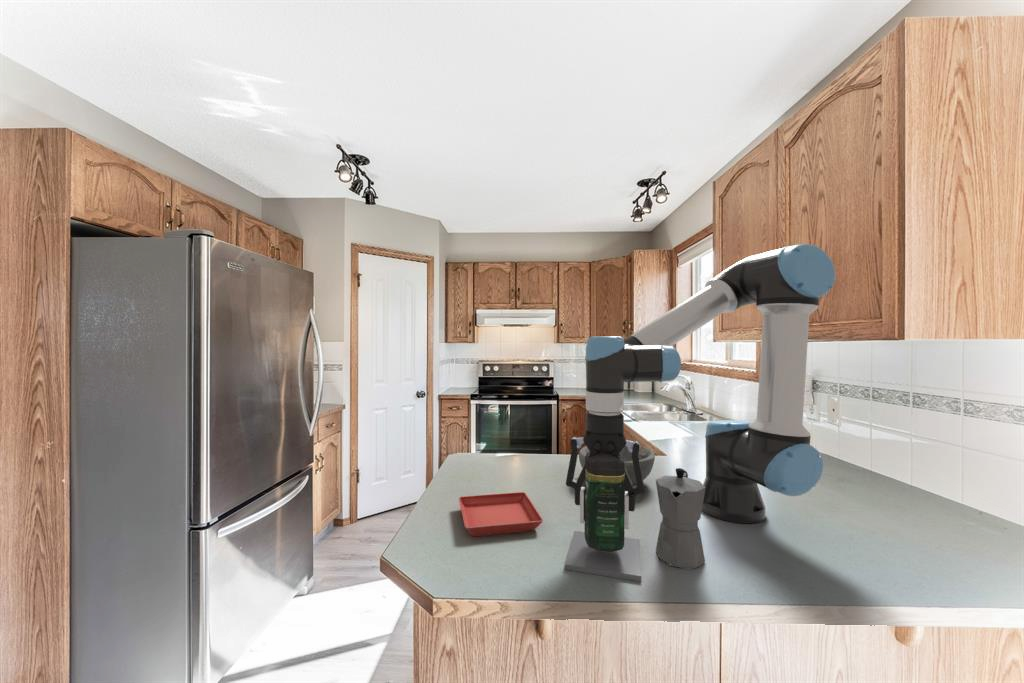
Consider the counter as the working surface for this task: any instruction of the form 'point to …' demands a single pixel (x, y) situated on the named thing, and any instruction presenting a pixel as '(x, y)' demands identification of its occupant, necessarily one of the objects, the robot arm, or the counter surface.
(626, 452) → the bowl
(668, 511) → the coffeepot
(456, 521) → the counter surface
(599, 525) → the coffee jar
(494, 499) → the plant saucer
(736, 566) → the counter surface
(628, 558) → the plate
